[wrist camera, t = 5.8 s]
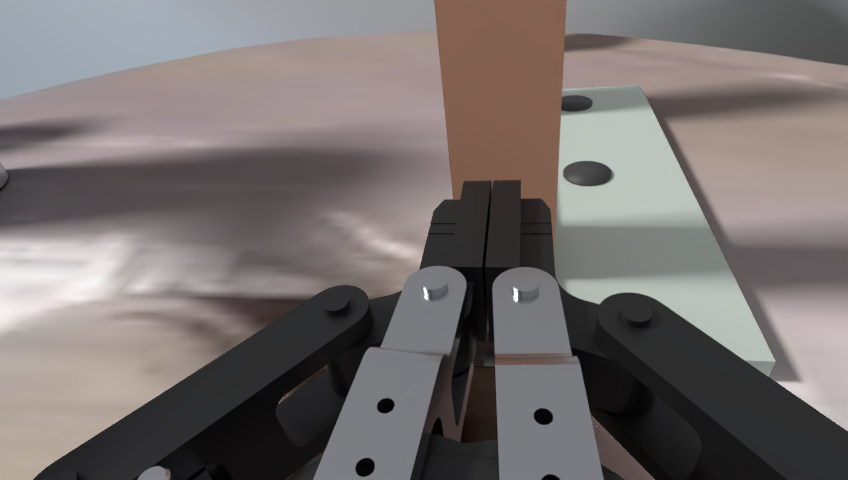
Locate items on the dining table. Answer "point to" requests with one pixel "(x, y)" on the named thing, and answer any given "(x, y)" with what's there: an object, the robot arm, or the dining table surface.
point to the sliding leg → (503, 92)
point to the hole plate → (640, 221)
